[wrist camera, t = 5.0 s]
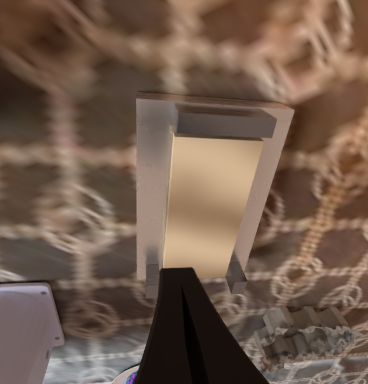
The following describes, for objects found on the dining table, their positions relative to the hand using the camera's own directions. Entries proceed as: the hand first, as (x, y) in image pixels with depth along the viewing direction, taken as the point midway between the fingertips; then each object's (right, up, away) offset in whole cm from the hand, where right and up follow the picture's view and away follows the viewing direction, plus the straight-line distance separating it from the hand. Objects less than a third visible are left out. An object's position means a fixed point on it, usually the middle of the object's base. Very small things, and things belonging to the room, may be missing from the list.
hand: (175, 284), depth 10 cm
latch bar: (+2, +2, +7) cm, 7 cm away
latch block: (+1, +4, +9) cm, 9 cm away
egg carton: (+14, -12, +21) cm, 28 cm away
